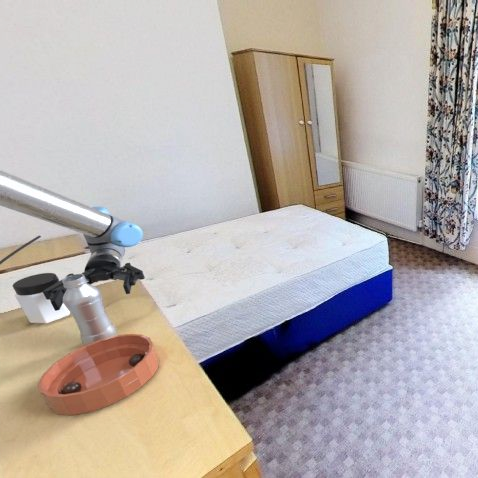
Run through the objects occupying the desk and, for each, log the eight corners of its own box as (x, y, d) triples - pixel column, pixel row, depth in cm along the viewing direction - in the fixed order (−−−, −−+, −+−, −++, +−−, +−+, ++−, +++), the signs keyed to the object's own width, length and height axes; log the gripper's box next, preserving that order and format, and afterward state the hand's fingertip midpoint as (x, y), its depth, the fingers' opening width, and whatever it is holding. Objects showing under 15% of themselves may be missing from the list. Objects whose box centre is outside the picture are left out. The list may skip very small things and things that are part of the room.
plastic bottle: (78, 350, 81) (44, 282, 73) (108, 332, 87) (79, 269, 79) (98, 355, 80) (64, 287, 72) (127, 337, 86) (99, 273, 78)
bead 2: (129, 365, 76) (125, 355, 75) (145, 358, 79) (141, 349, 77) (132, 371, 75) (128, 362, 74) (148, 364, 77) (144, 355, 76)
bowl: (47, 384, 72) (34, 364, 69) (148, 342, 85) (141, 324, 82) (56, 435, 61) (42, 413, 59) (170, 378, 74) (162, 358, 72)
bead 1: (63, 394, 69) (57, 384, 67) (82, 386, 71) (77, 376, 70) (65, 402, 67) (59, 392, 66) (85, 393, 69) (79, 383, 68)
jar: (66, 319, 92) (48, 284, 87) (25, 328, 88) (4, 291, 83) (78, 303, 99) (62, 269, 94) (40, 310, 95) (21, 275, 90)
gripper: (158, 265, 108) (156, 295, 92) (51, 287, 94) (28, 326, 79) (151, 245, 105) (148, 272, 89) (39, 264, 91) (13, 300, 76)
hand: (92, 297), depth 84 cm, fingers open, 13 cm apart
